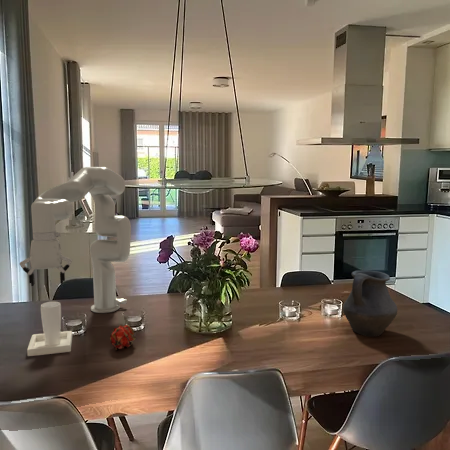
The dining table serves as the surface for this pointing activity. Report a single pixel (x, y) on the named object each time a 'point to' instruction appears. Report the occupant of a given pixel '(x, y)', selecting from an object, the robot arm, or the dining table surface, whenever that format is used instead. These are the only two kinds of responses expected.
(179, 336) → the dining table surface
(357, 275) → the pitcher
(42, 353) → the tray
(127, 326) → the dragon fruit
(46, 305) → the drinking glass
